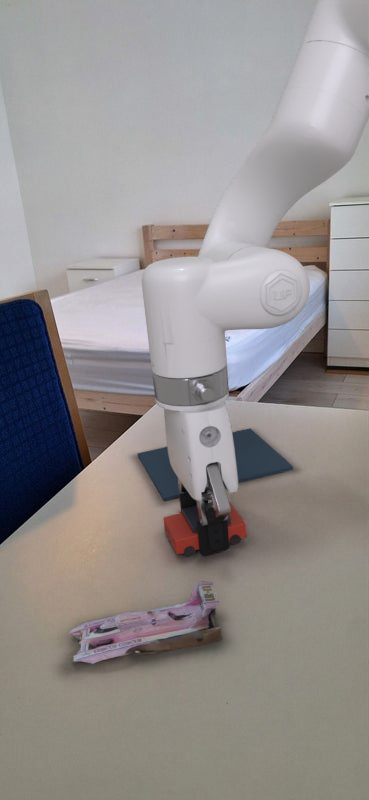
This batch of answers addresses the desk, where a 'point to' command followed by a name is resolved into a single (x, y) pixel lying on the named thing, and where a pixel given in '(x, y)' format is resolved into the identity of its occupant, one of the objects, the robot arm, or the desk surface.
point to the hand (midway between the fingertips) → (204, 534)
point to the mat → (250, 461)
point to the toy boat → (151, 629)
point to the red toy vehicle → (186, 534)
